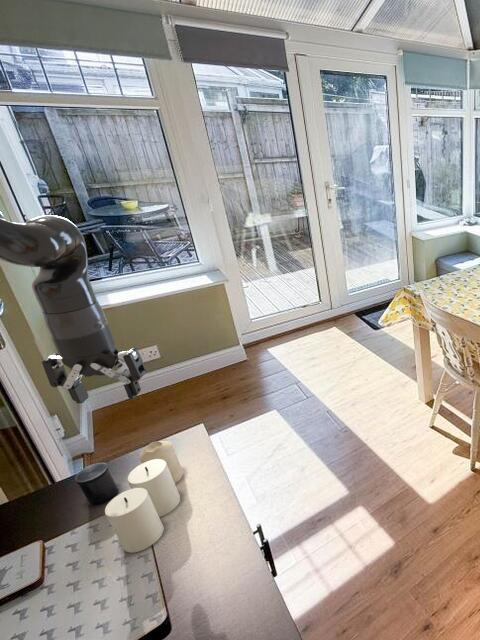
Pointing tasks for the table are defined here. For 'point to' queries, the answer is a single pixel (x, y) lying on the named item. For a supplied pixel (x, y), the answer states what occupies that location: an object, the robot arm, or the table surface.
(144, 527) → the candle
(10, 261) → the robot arm
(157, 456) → the candle
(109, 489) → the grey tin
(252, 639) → the table surface
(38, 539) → the table surface
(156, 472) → the candle
